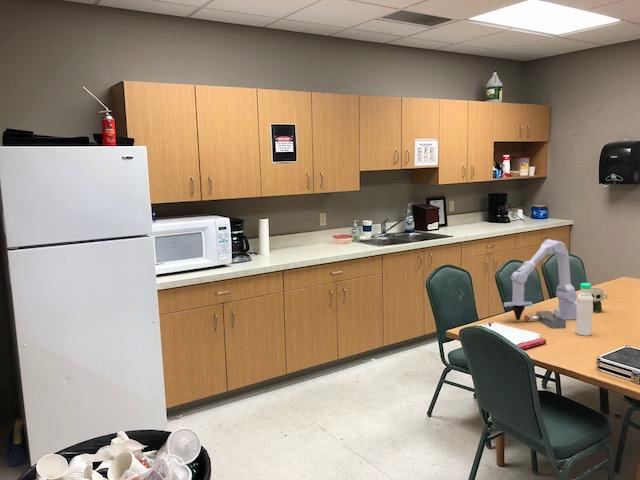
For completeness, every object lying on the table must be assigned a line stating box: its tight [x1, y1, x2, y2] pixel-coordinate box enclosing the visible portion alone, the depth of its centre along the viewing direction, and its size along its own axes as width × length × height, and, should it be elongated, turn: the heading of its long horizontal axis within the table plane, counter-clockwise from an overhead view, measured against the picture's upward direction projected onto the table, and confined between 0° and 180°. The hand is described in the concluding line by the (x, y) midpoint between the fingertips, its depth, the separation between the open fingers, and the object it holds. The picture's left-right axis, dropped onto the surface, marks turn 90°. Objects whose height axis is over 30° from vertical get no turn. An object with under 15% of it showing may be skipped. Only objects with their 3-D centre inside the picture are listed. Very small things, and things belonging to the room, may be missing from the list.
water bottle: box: [575, 282, 594, 337], centre depth 250 cm, size 7×7×25 cm
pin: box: [523, 315, 542, 322], centre depth 274 cm, size 11×3×3 cm, turn 91°
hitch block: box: [535, 310, 567, 329], centre depth 270 cm, size 7×18×5 cm, turn 1°
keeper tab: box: [553, 307, 560, 317], centre depth 265 cm, size 1×5×4 cm, turn 1°
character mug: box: [590, 287, 608, 313], centre depth 289 cm, size 11×7×13 cm, turn 53°
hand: (517, 319), depth 274 cm, fingers closed
